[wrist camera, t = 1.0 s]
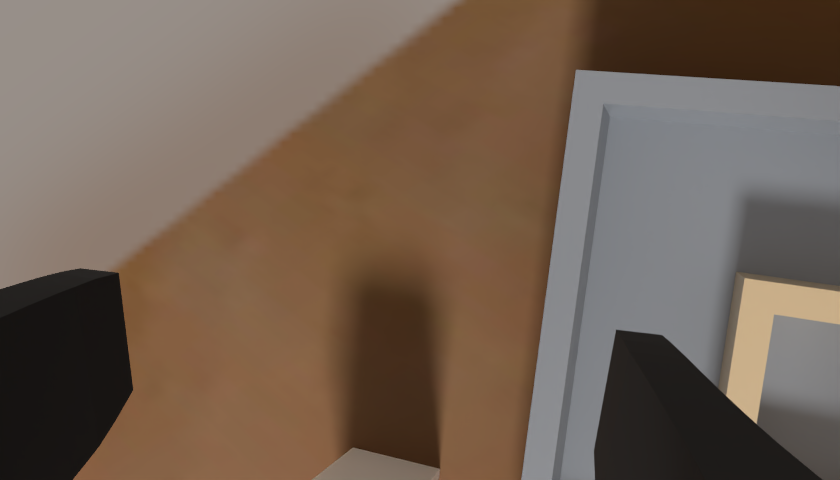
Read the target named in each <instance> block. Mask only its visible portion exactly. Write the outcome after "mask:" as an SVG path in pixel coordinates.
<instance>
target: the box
mask: <svg viewBox="0 0 840 480" xmlns="http://www.w3.org/2000/svg"><path fill="white" fill-rule="evenodd" d="M616 330H623V331H632V332H641V333H650V334H658V335H663V336H664V337H665V338H666V339H668V340H669V341H670V342H671V343H672V344H673V345H674V346H675V347H676V348H677V349H678V350H679V351H680V352H681V353H683V354H684V355H685V356H686V357H687V358H688V359H689V360H690V361H691V362H692V363H693V364H694V365H695V366H696V367H697V368H698V369H699V370H700V371H701V372H702V373H703V374H704V375H705V376H706V377H707V378H708V379H709V380H710V381H711V382H712V383H713V384H714V385H715V386H716V387H717V388H718V389H719V390H720V391H722V392H723V393H724V394H725V395H726V396H727V397H728V398H729V399H730V400H731V401H732V402H733V403H734V404H735V405H736V406H737V407H738V408H740V409H741V410H742V411H743V412H744V413H745V414H746V415H747V416H748V417H749V418H750V419H752V420H753V421H754V422H755V423H756V424H757V425H758V426H759V427H760V428H762V429H763V430H764V431H765V432H766V433H767V434H768V435H770V436H771V437H772V438H773V439H774V440H775V441H776V442H777V443H779V444H780V445H781V446H782V447H784V448H785V449H786V450H787V451H788V452H790V453H791V454H792V455H793V456H794V457H796V458H797V459H798V460H799V461H800V462H802V463H803V464H804V465H805V466H806V467H808V468H809V469H810V470H811V471H813V472H814V473H815V474H816V475H817V476H819V477H820V478H821V479H822V480H840V86H828V85H812V84H796V83H780V82H764V81H748V80H732V79H716V78H700V77H684V76H668V75H652V74H636V73H620V72H604V71H588V70H576V74H575V81H574V89H573V96H572V104H571V111H570V119H569V126H568V134H567V141H566V149H565V156H564V164H563V171H562V179H561V186H560V194H559V201H558V209H557V216H556V224H555V231H554V239H553V246H552V254H551V261H550V269H549V276H548V284H547V291H546V299H545V306H544V314H543V321H542V329H541V336H540V344H539V351H538V359H537V366H536V374H535V381H534V389H533V396H532V404H531V411H530V419H529V426H528V434H527V441H526V449H525V456H524V464H523V471H522V479H521V480H595V468H594V447H595V442H596V436H597V431H598V425H599V420H600V414H601V409H602V403H603V398H604V393H605V387H606V382H607V376H608V371H609V365H610V360H611V354H612V349H613V344H614V338H615V333H616Z"/></svg>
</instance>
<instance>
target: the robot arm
mask: <svg viewBox="0 0 840 480" xmlns="http://www.w3.org/2000/svg"><path fill="white" fill-rule="evenodd" d="M132 391H133V385H132V377H131V369H130V361H129V353H128V345H127V337H126V329H125V321H124V312H123V304H122V296H121V288H120V280H119V273H115V272H106V271H97V270H89V269H75V270H69V271H64V272H59V273H55V274H52V275H47V276H44V277H40V278H36V279H33V280H29V281H27V282H23V283H19V284H16V285H13V286H10V287H6V288H3V289H0V480H73V478H74V477H75V476H76V475H77V473H78V472H79V471H80V470H81V468H82V467H83V466H84V465H85V464H86V462H87V461H88V460H89V459H90V457H91V456H92V455H93V453H94V452H95V451H96V450H97V448H98V447H99V446H100V444H101V443H102V441H103V439H104V438H105V436H106V435H107V433H108V431H109V430H110V428H111V427H112V425H113V424H114V422H115V420H116V419H117V417H118V415H119V413H120V412H121V410H122V408H123V407H124V405H125V403H126V401H127V400H128V398H129V396H130V394H131V393H132ZM594 468H595V480H822V479H821V478H820V477H819V476H817V475H816V474H815V473H814V472H813V471H811V470H810V469H809V468H808V467H806V466H805V465H804V464H803V463H802V462H800V461H799V460H798V459H797V458H796V457H794V456H793V455H792V454H791V453H790V452H788V451H787V450H786V449H785V448H784V447H782V446H781V445H780V444H779V443H777V442H776V441H775V440H774V439H773V438H772V437H771V436H770V435H768V434H767V433H766V432H765V431H764V430H763V429H762V428H760V427H759V426H758V425H757V424H756V423H755V422H754V421H753V420H752V419H750V418H749V417H748V416H747V415H746V414H745V413H744V412H743V411H742V410H741V409H740V408H738V407H737V406H736V405H735V404H734V403H733V402H732V401H731V400H730V399H729V398H728V397H727V396H726V395H725V394H724V393H723V392H722V391H720V390H719V389H718V388H717V387H716V386H715V385H714V384H713V383H712V382H711V381H710V380H709V379H708V378H707V377H706V376H705V375H704V374H703V373H702V372H701V371H700V370H699V369H698V368H697V367H696V366H695V365H694V364H693V363H692V362H691V361H690V360H689V359H688V358H687V357H686V356H685V355H684V354H683V353H681V352H680V351H679V350H678V349H677V348H676V347H675V346H674V345H673V344H672V343H671V342H670V341H669V340H668V339H666V338H665V337H664V336H663V335H658V334H650V333H641V332H632V331H623V330H616V333H615V338H614V344H613V349H612V354H611V360H610V365H609V371H608V376H607V382H606V387H605V393H604V398H603V403H602V409H601V414H600V420H599V425H598V431H597V436H596V442H595V447H594Z"/></svg>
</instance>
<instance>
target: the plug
mask: <svg viewBox="0 0 840 480" xmlns="http://www.w3.org/2000/svg"><path fill="white" fill-rule="evenodd" d="M439 473H440V469H439V468H435V467H431V466H426V465H422V464H418V463H414V462H410V461H406V460H402V459H398V458H394V457H390V456H386V455H382V454H378V453H374V452H370V451H366V450H362V449H358V448H354V447H353V448H352V449H350V450H349V451H348V452H346V453H345V454H344V455H343V456H341V457H340V458H339V459H338V460H336V461H335V462H334V463H333V464H331V465H330V466H329V467H327V468H326V469H325V470H324V471H322V472H321V473H320V474H319V475H317V476H316V477H315V478H314V479H312V480H439Z"/></svg>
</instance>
